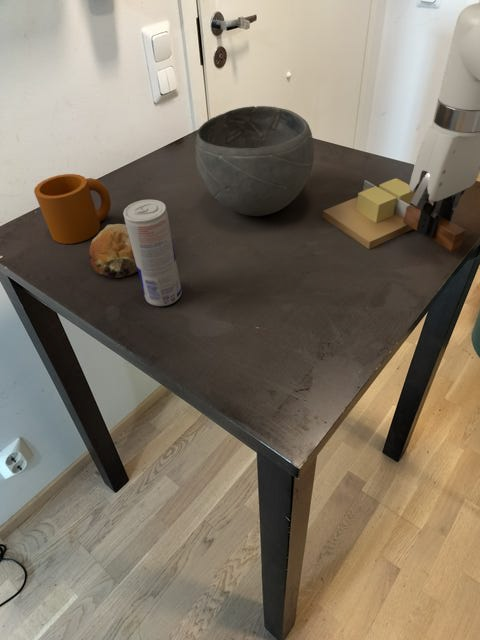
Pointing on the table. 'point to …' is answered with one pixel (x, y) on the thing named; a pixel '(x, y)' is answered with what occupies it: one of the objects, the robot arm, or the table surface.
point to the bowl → (255, 158)
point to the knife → (446, 230)
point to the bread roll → (113, 252)
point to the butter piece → (376, 204)
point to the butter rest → (398, 190)
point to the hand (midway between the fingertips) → (431, 230)
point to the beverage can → (153, 251)
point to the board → (365, 224)
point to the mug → (72, 207)
